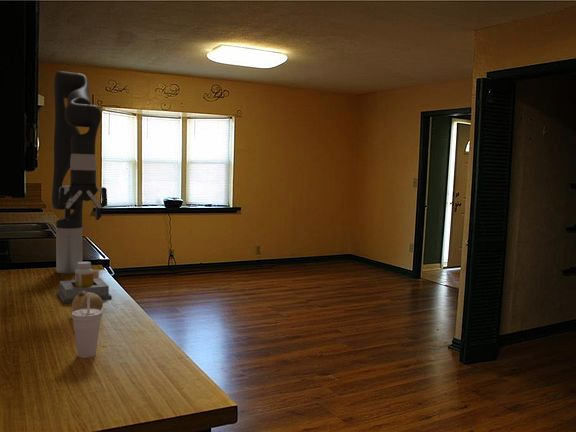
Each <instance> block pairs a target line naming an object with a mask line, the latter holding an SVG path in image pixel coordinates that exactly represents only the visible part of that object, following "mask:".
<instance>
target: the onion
mask: <svg viewBox="0 0 576 432" xmlns="http://www.w3.org/2000/svg"><path fill="white" fill-rule="evenodd" d="M87 293H90V309H99V310H101V311H102V309H103V304H104V303H103V302H104V301H103V300H102V299H101V298H100V297H99V296H98V295H97V294H95V293H91V292H86V291H82V292H79V293H78V295H77V296H76V297H75V298H74V300H73V302H72V303H71V310H72V312H74V311H76V310H80V309H87Z"/></svg>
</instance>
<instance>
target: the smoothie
mask: <svg viewBox="0 0 576 432" xmlns="http://www.w3.org/2000/svg"><path fill="white" fill-rule="evenodd" d="M102 317H103V311H102V309H101V310H99V309H90V293H87V309H80V310H76V311H74V312H73V311H72V312H71V320H72V323H73V330H74V335H75V336H74V338H75V344H76V351H77V357H78V358H82V359H87V358H88V359H89V358H93V357H95V356H96V354H97V347H98V340H99V333H100V325H101V318H102Z"/></svg>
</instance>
